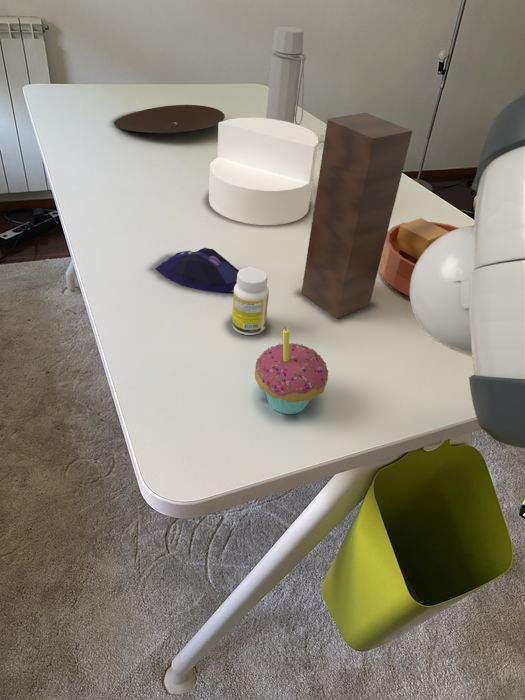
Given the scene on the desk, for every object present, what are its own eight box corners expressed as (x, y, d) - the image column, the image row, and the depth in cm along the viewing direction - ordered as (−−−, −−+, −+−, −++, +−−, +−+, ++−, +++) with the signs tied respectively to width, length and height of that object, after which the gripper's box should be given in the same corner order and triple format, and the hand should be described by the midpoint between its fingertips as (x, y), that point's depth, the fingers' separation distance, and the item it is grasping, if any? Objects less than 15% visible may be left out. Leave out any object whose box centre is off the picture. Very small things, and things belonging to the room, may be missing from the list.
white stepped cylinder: (189, 206, 106) (189, 135, 98) (240, 175, 120) (244, 111, 112) (281, 235, 100) (290, 162, 91) (324, 199, 114) (334, 133, 106)
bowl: (483, 263, 98) (494, 232, 94) (493, 319, 84) (507, 286, 80) (380, 244, 100) (388, 214, 96) (374, 297, 86) (383, 263, 82)
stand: (369, 305, 84) (412, 130, 68) (337, 319, 80) (374, 138, 64) (333, 281, 89) (365, 112, 72) (301, 293, 85) (327, 118, 69)
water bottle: (259, 143, 137) (268, 29, 122) (268, 134, 143) (278, 24, 128) (295, 150, 136) (308, 35, 120) (302, 140, 142) (316, 30, 126)
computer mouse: (179, 249, 92) (179, 227, 90) (258, 275, 88) (260, 252, 86) (147, 273, 86) (146, 250, 83) (231, 302, 81) (233, 279, 79)
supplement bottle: (246, 312, 80) (250, 261, 75) (272, 326, 78) (278, 274, 72) (224, 325, 77) (227, 274, 72) (250, 340, 75) (254, 288, 69)
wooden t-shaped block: (489, 278, 87) (498, 255, 84) (470, 288, 84) (478, 265, 81) (414, 239, 95) (420, 217, 93) (394, 246, 92) (400, 225, 90)
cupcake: (285, 436, 62) (298, 354, 54) (237, 394, 66) (243, 313, 59) (336, 404, 66) (355, 324, 59) (288, 367, 71) (300, 288, 63)
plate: (152, 104, 155) (151, 90, 153) (242, 124, 148) (242, 110, 146) (90, 129, 135) (89, 114, 133) (191, 154, 128) (191, 138, 125)
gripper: (621, 228, 76) (562, 151, 79) (545, 266, 66) (480, 175, 68) (582, 253, 82) (528, 180, 84) (506, 292, 71) (446, 207, 74)
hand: (505, 178), depth 76 cm, fingers open, 8 cm apart
